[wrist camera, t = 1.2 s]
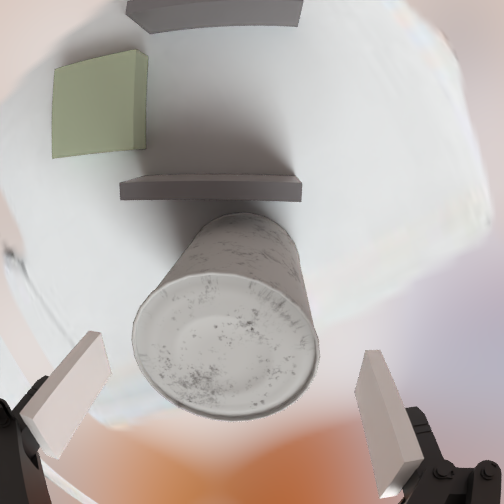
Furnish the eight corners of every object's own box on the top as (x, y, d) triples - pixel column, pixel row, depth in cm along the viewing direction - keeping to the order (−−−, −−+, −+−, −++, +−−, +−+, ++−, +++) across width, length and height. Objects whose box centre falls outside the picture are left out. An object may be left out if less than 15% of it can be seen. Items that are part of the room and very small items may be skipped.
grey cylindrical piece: (171, 230, 26) (101, 295, 14) (284, 198, 25) (296, 246, 13) (208, 327, 29) (176, 428, 17) (311, 304, 27) (332, 406, 16)
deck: (68, 156, 24) (52, 158, 22) (70, 73, 22) (54, 69, 19) (145, 148, 24) (133, 149, 21) (148, 56, 21) (136, 49, 19)
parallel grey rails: (146, 189, 25) (120, 200, 20) (151, 22, 20) (127, 1, 15) (295, 191, 24) (301, 202, 20) (297, 14, 19) (302, -13, 15)
